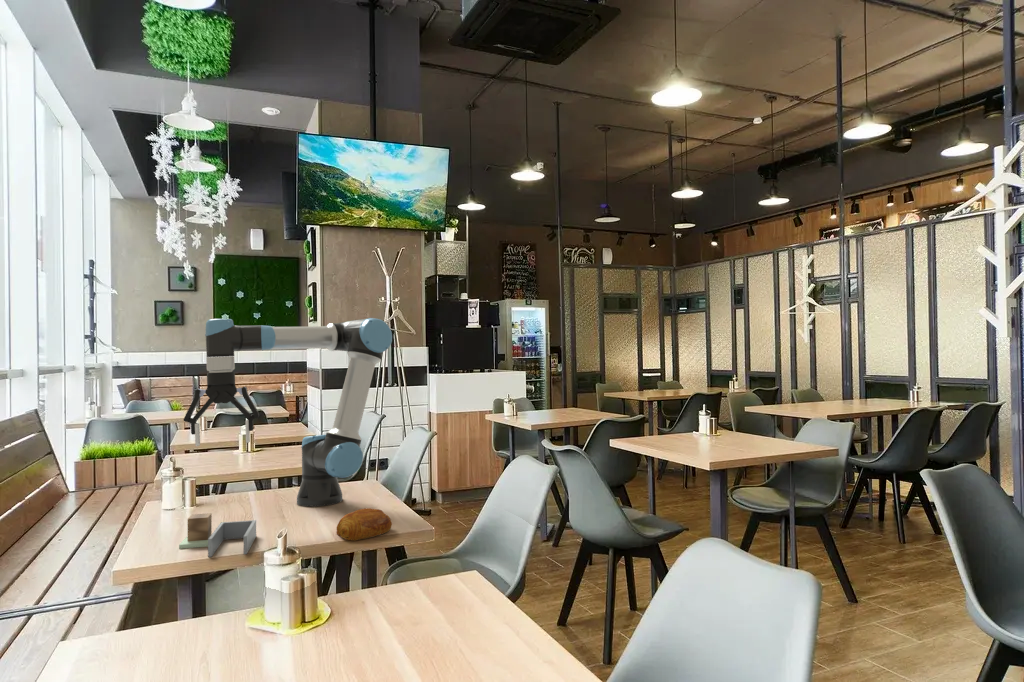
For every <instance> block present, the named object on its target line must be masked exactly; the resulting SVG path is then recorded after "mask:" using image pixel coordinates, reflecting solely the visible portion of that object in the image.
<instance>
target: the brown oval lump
mask: <svg viewBox="0 0 1024 682" xmlns="http://www.w3.org/2000/svg"><path fill="white" fill-rule="evenodd" d="M392 525H393V523H392V519H391V518H390V517H389V515H388V514H387V513H385V512H384V511H383V510H381V509H377V508H370V507H368V508H365V507H364V508H360V509H357V510H353V511H352V512H349V513H346V514H345V515H343V516H342V517H341V518H340V519H339V521H338V523H337V525H336V535H338V536H339V537H341V538H343V539H345V540H347V541H361V540H365V539H370V538H373V537H377V536H380V534H381V535H383V534H385V533H388V532H389V531H390V530H391V528H392Z"/></svg>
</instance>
